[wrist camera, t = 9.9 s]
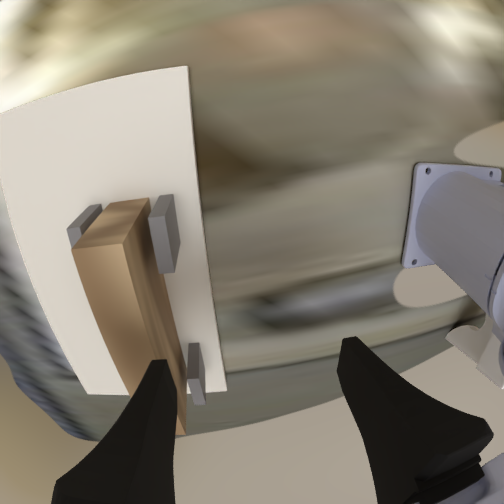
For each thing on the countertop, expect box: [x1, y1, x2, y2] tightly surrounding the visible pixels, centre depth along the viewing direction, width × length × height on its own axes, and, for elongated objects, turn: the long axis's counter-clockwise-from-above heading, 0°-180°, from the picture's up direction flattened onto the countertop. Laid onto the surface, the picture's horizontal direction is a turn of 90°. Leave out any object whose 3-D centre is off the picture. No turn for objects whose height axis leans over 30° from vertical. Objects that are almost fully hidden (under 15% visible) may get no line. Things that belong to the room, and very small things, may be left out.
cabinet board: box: [0, 66, 227, 405], centre depth 18 cm, size 13×24×4 cm, turn 3°
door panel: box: [71, 197, 187, 435], centre depth 18 cm, size 2×14×6 cm, turn 3°
